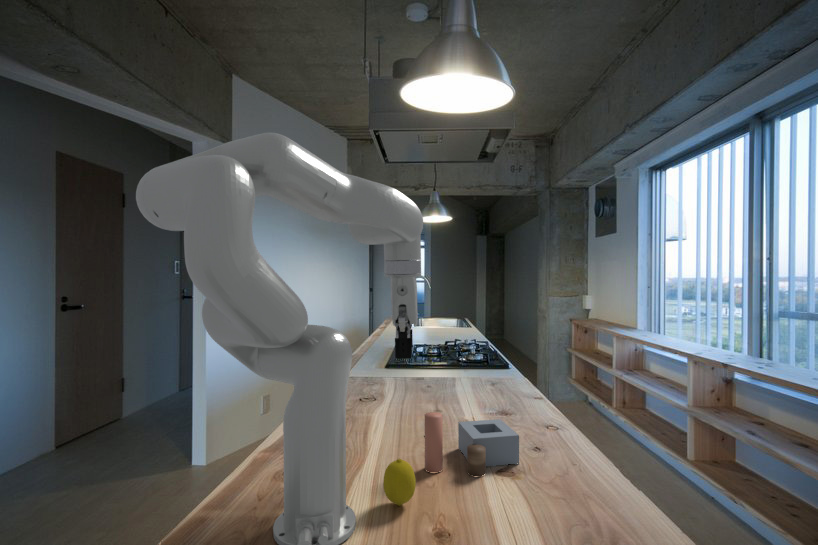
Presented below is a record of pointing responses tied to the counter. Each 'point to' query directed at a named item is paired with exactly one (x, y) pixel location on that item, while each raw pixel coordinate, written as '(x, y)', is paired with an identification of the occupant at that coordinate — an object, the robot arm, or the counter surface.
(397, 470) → the lemon
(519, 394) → the counter surface
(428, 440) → the long pin
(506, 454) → the hole block
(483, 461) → the short pin
